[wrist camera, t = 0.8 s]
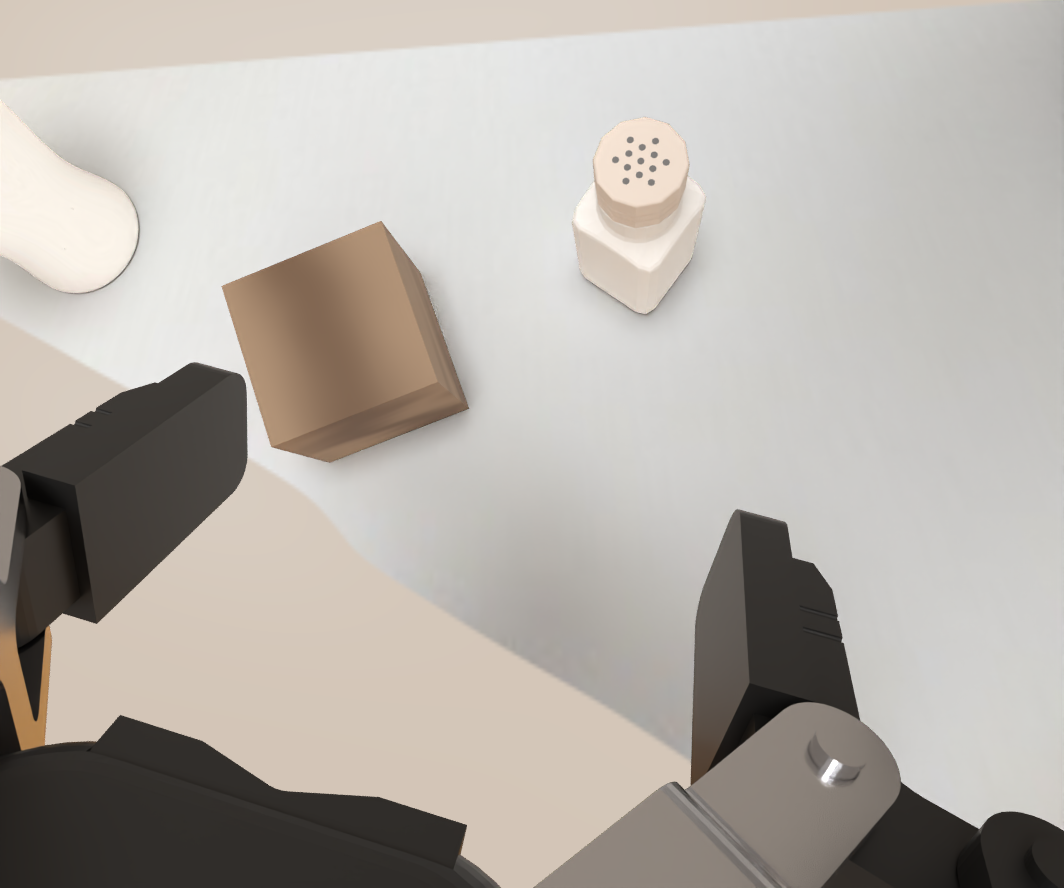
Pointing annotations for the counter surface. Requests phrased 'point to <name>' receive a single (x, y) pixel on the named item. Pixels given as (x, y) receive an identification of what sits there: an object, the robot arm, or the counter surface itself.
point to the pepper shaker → (638, 214)
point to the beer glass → (60, 214)
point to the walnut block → (343, 347)
